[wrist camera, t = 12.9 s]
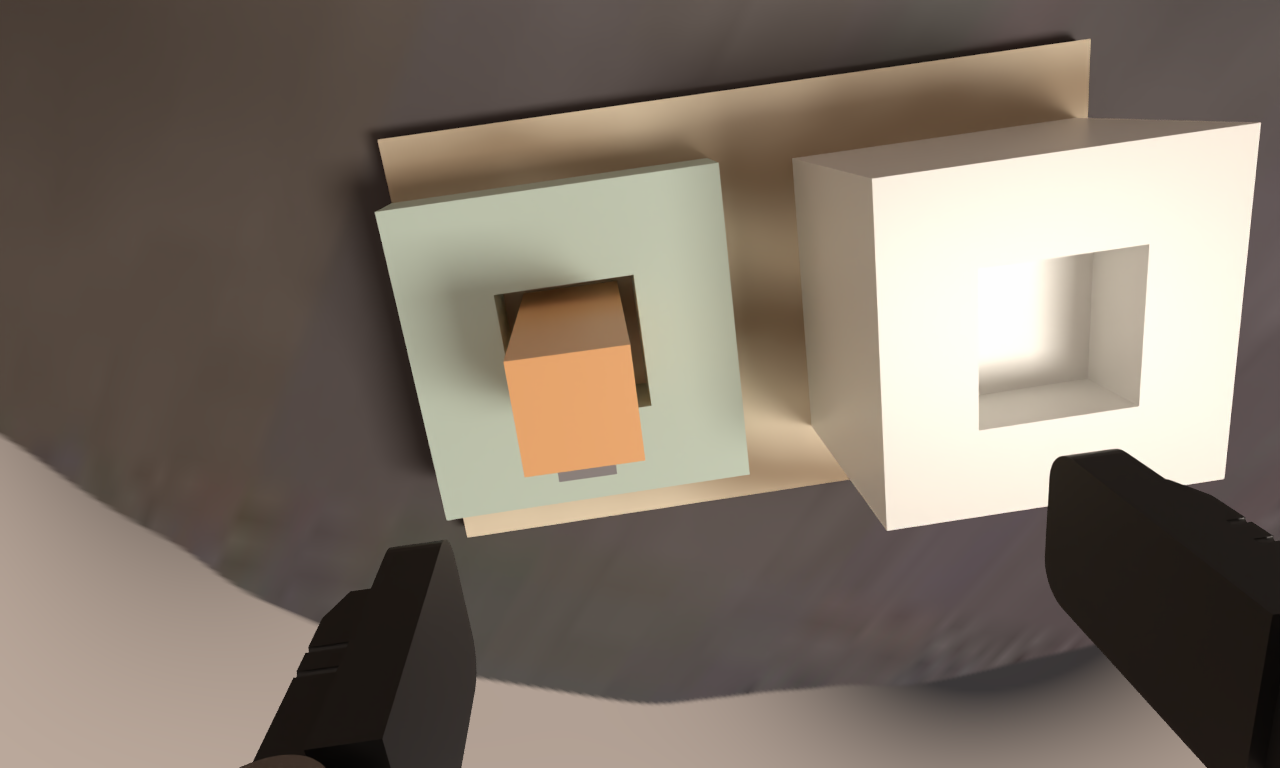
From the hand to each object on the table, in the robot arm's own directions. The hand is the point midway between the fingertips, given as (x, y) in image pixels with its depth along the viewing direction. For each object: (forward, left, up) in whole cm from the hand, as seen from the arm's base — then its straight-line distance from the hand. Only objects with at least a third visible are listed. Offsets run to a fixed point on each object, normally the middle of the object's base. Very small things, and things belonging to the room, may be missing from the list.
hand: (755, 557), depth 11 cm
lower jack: (+3, -3, -26) cm, 26 cm away
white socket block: (+3, +13, -26) cm, 29 cm away
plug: (+3, -3, -26) cm, 26 cm away
